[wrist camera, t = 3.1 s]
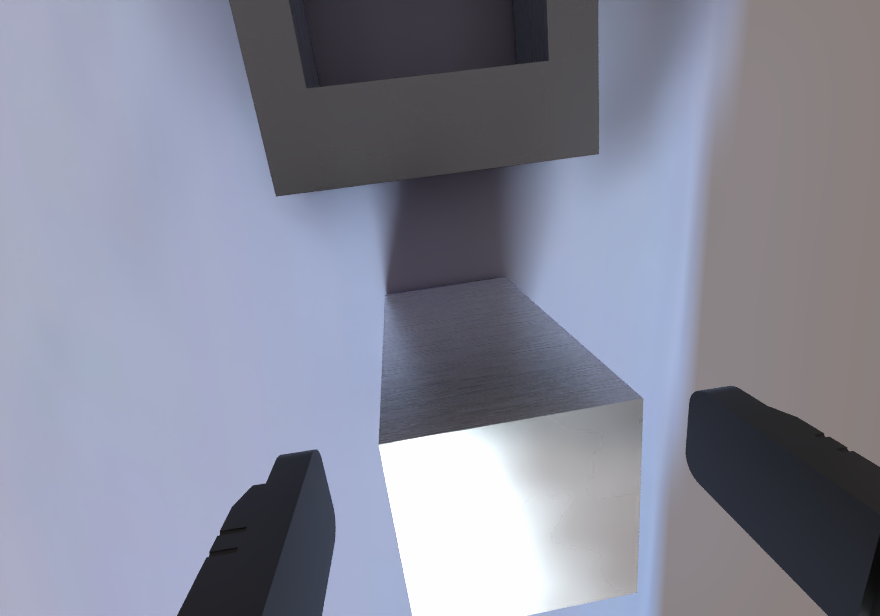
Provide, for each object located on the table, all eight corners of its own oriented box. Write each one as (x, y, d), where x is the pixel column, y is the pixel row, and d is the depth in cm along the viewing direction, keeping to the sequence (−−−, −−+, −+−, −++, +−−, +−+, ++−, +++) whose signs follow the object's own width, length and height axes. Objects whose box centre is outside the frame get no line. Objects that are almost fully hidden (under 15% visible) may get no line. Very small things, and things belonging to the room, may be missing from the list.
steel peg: (403, 402, 15) (418, 638, 7) (385, 295, 14) (378, 444, 6) (513, 383, 15) (637, 592, 8) (505, 277, 14) (643, 398, 6)
